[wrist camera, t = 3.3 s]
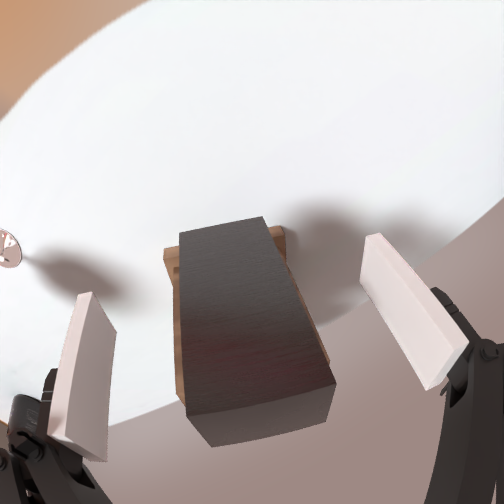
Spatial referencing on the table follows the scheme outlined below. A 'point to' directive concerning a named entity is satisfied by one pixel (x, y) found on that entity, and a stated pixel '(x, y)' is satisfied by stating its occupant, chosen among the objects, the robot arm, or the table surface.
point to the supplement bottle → (23, 414)
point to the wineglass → (9, 250)
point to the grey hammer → (246, 338)
